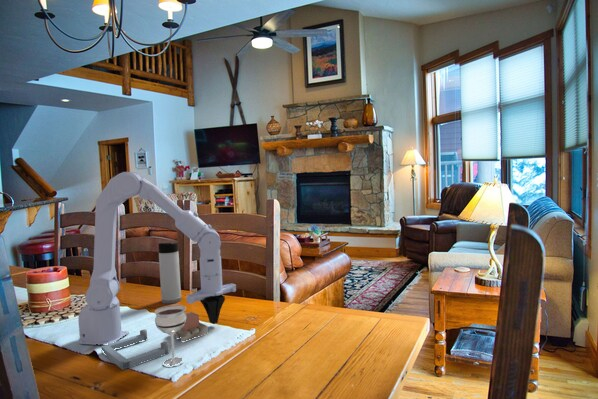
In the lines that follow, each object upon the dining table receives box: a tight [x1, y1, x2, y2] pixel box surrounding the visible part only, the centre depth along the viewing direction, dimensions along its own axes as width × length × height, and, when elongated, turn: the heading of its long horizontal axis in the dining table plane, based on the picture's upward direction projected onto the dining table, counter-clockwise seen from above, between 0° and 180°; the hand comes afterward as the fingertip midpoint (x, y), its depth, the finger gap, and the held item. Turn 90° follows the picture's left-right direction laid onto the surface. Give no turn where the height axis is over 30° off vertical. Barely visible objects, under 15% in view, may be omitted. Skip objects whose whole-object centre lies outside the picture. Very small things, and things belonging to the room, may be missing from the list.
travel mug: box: [157, 242, 182, 305], centre depth 135 cm, size 6×7×20 cm
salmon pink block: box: [182, 311, 200, 331], centre depth 106 cm, size 4×4×3 cm
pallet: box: [174, 321, 208, 342], centre depth 106 cm, size 7×7×2 cm
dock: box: [100, 329, 169, 371], centre depth 96 cm, size 11×13×2 cm
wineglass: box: [154, 304, 187, 366], centre depth 90 cm, size 7×7×12 cm
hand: (213, 322), depth 111 cm, fingers closed
